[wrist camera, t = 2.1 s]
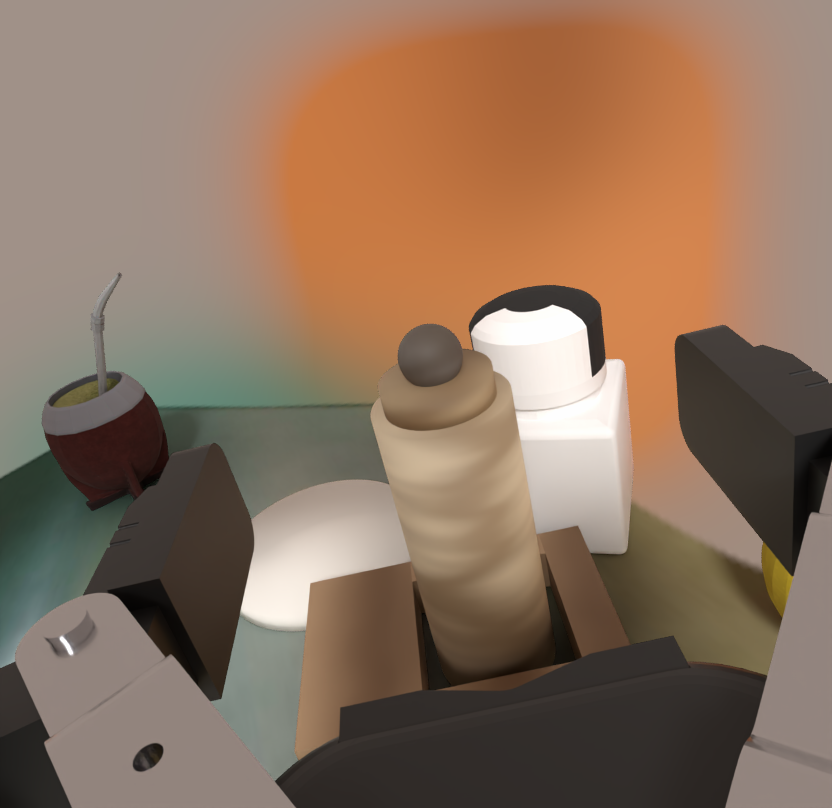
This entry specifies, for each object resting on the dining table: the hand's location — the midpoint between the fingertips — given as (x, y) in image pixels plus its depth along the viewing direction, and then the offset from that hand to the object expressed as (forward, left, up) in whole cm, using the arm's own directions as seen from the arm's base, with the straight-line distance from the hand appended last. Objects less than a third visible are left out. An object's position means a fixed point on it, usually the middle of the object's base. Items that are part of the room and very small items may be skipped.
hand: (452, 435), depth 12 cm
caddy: (-2, +11, -18) cm, 21 cm away
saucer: (-8, +20, -18) cm, 28 cm away
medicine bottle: (+5, +20, -18) cm, 27 cm away
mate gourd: (-22, +32, -18) cm, 43 cm away
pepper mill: (0, +11, -18) cm, 21 cm away
